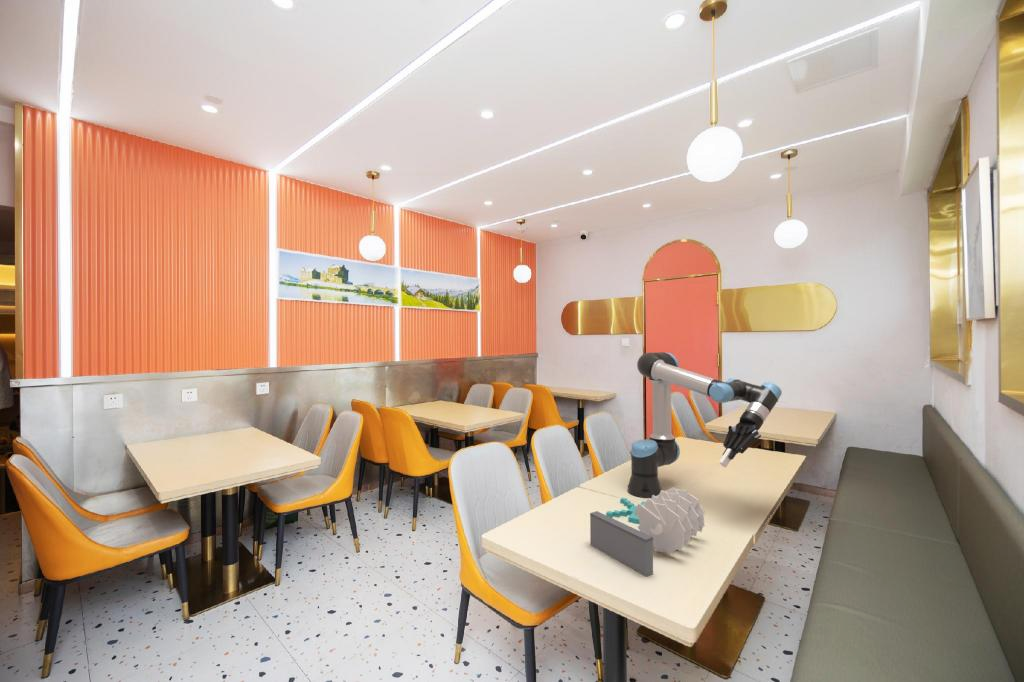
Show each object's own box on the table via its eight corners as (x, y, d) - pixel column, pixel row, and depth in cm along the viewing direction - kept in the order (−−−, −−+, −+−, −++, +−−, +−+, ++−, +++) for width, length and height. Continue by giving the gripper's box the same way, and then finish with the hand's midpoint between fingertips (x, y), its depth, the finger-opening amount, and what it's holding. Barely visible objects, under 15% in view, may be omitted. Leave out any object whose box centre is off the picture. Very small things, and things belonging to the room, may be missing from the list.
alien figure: (606, 518, 171) (657, 529, 160) (606, 512, 171) (657, 523, 160) (621, 502, 188) (669, 511, 177) (621, 497, 188) (669, 506, 177)
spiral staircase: (695, 547, 154) (668, 570, 135) (652, 513, 165) (622, 531, 146) (719, 505, 150) (694, 524, 131) (673, 474, 161) (644, 487, 142)
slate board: (590, 544, 147) (590, 513, 147) (597, 542, 149) (597, 511, 149) (645, 576, 127) (645, 539, 127) (653, 573, 128) (653, 537, 129)
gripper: (774, 425, 161) (743, 475, 155) (744, 420, 174) (713, 466, 167) (764, 412, 160) (732, 462, 153) (734, 408, 172) (703, 454, 165)
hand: (722, 464), depth 160 cm, fingers closed
